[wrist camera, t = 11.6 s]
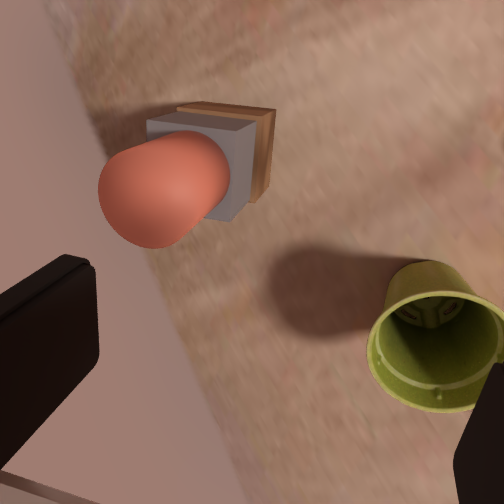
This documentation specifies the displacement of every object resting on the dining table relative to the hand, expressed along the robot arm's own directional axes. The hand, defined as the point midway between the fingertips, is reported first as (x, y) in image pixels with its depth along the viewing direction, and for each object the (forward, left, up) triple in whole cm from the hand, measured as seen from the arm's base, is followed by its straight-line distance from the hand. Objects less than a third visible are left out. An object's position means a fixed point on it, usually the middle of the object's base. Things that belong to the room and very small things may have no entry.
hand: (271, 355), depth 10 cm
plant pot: (+11, +9, -27) cm, 30 cm away
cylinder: (+1, -8, -17) cm, 19 cm away
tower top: (+1, -8, -22) cm, 23 cm away
